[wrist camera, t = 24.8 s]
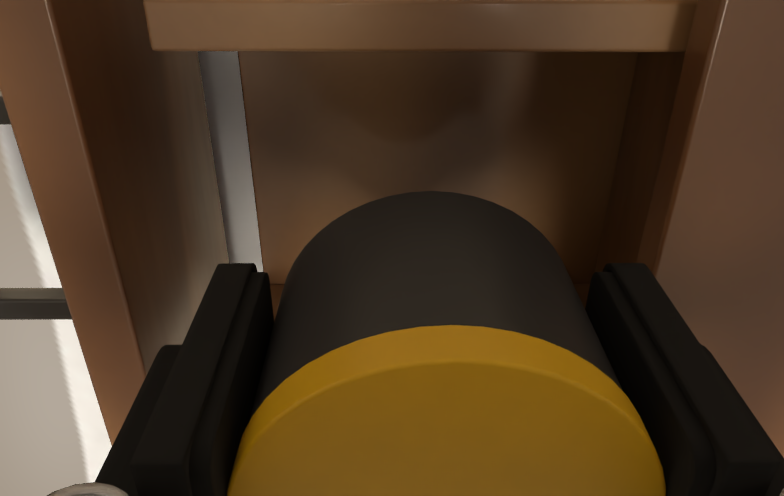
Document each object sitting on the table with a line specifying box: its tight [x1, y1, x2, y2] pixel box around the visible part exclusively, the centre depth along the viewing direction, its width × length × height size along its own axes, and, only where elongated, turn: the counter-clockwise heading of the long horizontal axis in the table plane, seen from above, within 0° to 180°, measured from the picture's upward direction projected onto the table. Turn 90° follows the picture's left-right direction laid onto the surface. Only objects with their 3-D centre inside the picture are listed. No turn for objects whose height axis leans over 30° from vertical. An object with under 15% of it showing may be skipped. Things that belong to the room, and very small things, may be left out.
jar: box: [227, 191, 666, 496], centre depth 9 cm, size 5×5×4 cm
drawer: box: [0, 0, 698, 446], centre depth 15 cm, size 18×11×7 cm, turn 90°
